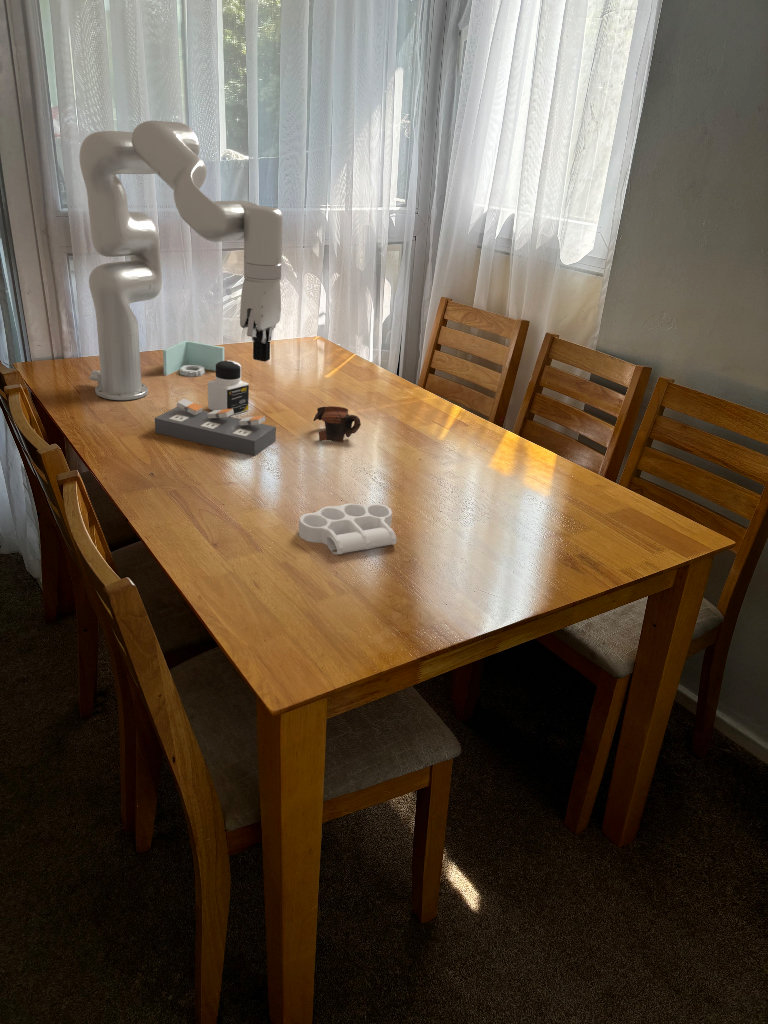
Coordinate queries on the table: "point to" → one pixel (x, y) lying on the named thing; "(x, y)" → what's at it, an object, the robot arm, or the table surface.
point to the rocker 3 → (252, 420)
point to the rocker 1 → (189, 406)
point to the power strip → (216, 431)
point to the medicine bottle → (228, 388)
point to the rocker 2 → (220, 413)
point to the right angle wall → (191, 358)
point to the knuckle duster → (349, 527)
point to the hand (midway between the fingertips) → (261, 359)
